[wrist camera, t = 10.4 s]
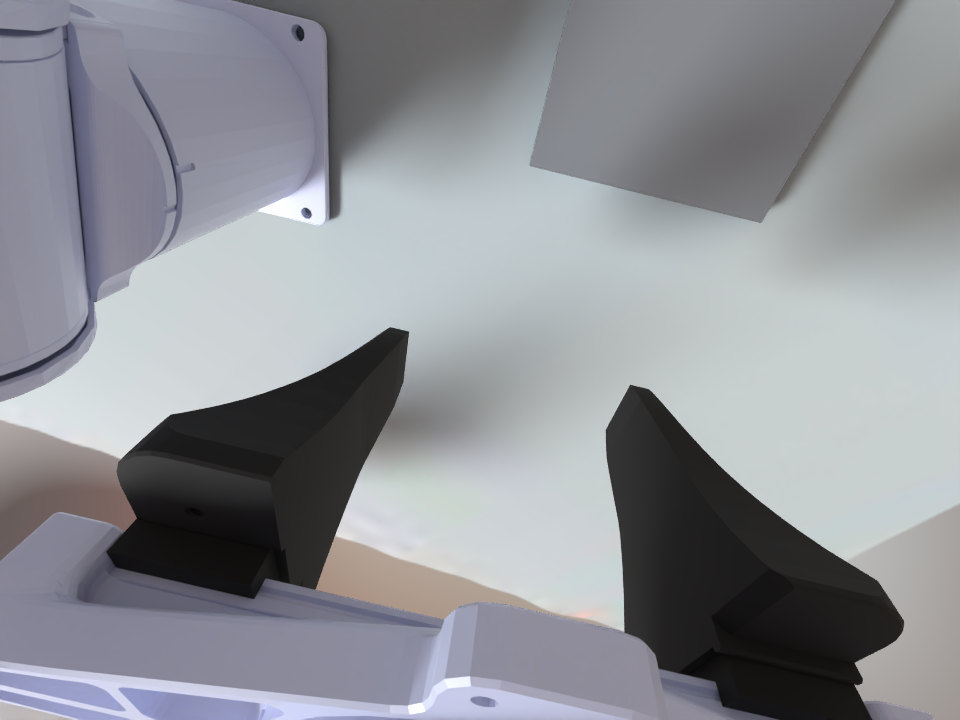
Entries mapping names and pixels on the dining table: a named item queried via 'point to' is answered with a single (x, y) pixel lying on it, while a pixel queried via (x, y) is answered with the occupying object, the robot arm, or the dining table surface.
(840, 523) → the dining table surface
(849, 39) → the slate stand
